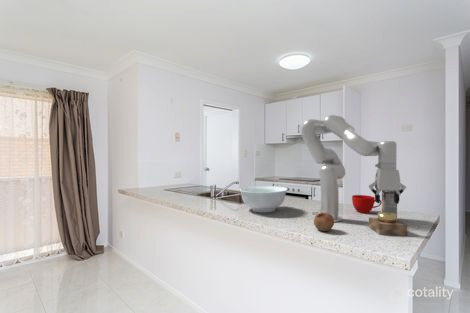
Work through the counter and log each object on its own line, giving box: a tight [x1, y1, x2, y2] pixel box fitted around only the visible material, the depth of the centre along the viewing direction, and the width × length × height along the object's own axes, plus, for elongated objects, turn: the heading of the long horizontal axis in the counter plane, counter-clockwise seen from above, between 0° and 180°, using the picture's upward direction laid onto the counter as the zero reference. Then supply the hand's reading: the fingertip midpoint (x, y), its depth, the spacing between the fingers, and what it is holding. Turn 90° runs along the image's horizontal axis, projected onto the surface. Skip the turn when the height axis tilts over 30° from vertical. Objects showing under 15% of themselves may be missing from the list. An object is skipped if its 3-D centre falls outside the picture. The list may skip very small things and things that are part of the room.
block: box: [368, 217, 408, 237], centre depth 123 cm, size 12×12×5 cm
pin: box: [377, 211, 396, 223], centre depth 123 cm, size 8×8×8 cm
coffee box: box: [381, 190, 398, 220], centre depth 145 cm, size 9×6×16 cm
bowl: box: [239, 185, 288, 214], centre depth 169 cm, size 32×32×15 cm
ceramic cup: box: [351, 194, 382, 214], centre depth 163 cm, size 13×17×10 cm
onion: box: [313, 213, 335, 232], centre depth 124 cm, size 10×9×10 cm
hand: (386, 202), depth 123 cm, fingers open, 7 cm apart
